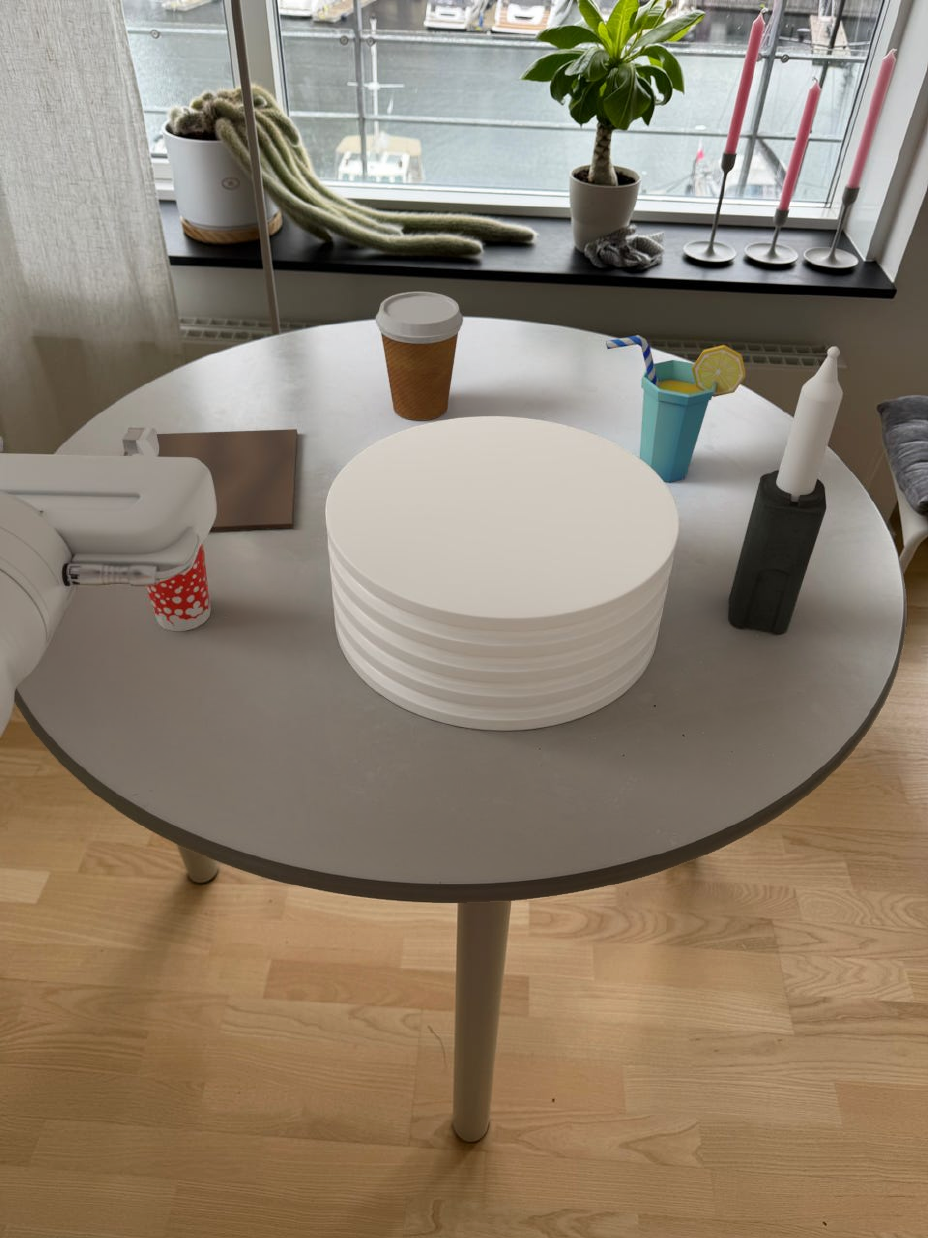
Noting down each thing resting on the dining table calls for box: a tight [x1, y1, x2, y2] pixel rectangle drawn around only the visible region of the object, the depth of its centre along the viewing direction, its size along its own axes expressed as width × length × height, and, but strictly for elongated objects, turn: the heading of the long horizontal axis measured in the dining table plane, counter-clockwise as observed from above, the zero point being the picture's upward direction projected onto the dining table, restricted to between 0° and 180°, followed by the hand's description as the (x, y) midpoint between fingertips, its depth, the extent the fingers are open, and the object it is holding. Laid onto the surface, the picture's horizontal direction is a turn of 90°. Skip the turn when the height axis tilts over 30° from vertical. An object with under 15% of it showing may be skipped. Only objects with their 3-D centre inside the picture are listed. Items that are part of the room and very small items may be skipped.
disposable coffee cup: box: [375, 291, 464, 421], centre depth 108 cm, size 10×10×12 cm
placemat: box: [122, 428, 298, 533], centre depth 99 cm, size 18×18×1 cm
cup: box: [605, 334, 747, 483], centre depth 98 cm, size 14×8×15 cm, turn 92°
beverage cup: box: [145, 542, 212, 632], centre depth 79 cm, size 6×6×14 cm
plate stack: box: [324, 415, 680, 732], centre depth 81 cm, size 28×28×12 cm
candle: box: [727, 345, 844, 635], centre depth 77 cm, size 5×5×25 cm
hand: (67, 435), depth 58 cm, fingers open, 8 cm apart
